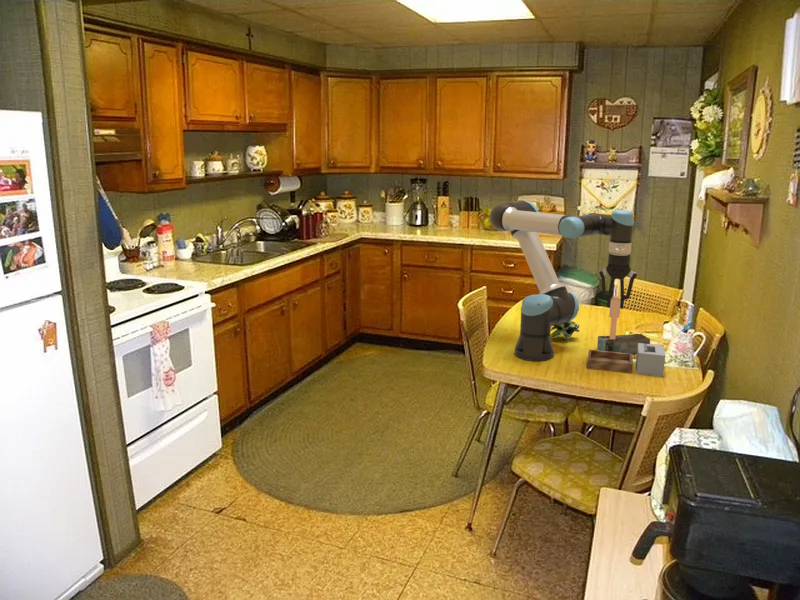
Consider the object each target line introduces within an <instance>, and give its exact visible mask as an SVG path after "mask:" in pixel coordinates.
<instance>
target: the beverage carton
mask: <svg viewBox="0 0 800 600" xmlns="http://www.w3.org/2000/svg"><path fill="white" fill-rule="evenodd" d="M650 342H651V338H650V337H647V336H646V335H644V334H642V333H633V334H631V333H629V334H617V335H616V337H615V339H610V335H598V336H597V348H596V350H599V351H609V352H619V353H629V354H634V355H635V354H636V355H637V346H638V343H643V344H651V343H650Z"/></svg>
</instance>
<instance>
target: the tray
mask: <svg viewBox="0 0 800 600" xmlns="http://www.w3.org/2000/svg"><path fill="white" fill-rule="evenodd" d="M587 352H588V354H587V361H586V369H590V370H598V371H608V372H616V373H617V372H619V373H625V374H627V373H628V374H633V369H634V360H633V359H634V358H633V357H634V356H633V354H629V353H619V352H609V351H599V350H597V349H588V351H587Z"/></svg>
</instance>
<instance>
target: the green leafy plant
mask: <svg viewBox="0 0 800 600" xmlns="http://www.w3.org/2000/svg"><path fill="white" fill-rule="evenodd" d="M551 332H552V333H551ZM551 332H550V338H551V339H553V340H554V339H557V338H558V337H560V336H562V337H563V338H564V339H565V341H566V343H568V342H569V340H570V337H572V335H573V333H575V332H577V333H579V332H580V324H577V322H575V321H573V320H571V321H568V322H566V323H561V324H558V325H554V326H551Z"/></svg>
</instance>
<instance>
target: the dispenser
mask: <svg viewBox="0 0 800 600" xmlns="http://www.w3.org/2000/svg"><path fill="white" fill-rule="evenodd" d="M665 351H666V350H665V346H664V345H662V344H652V343H650V344H643V343H638V346H637V353H636V356H635V357H636V358H635V371H636V372H635V373H636V374H637V375H644V376H653V377H662V378H663V377H664V372H665V364H666V363H665V362H666V353H665Z"/></svg>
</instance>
